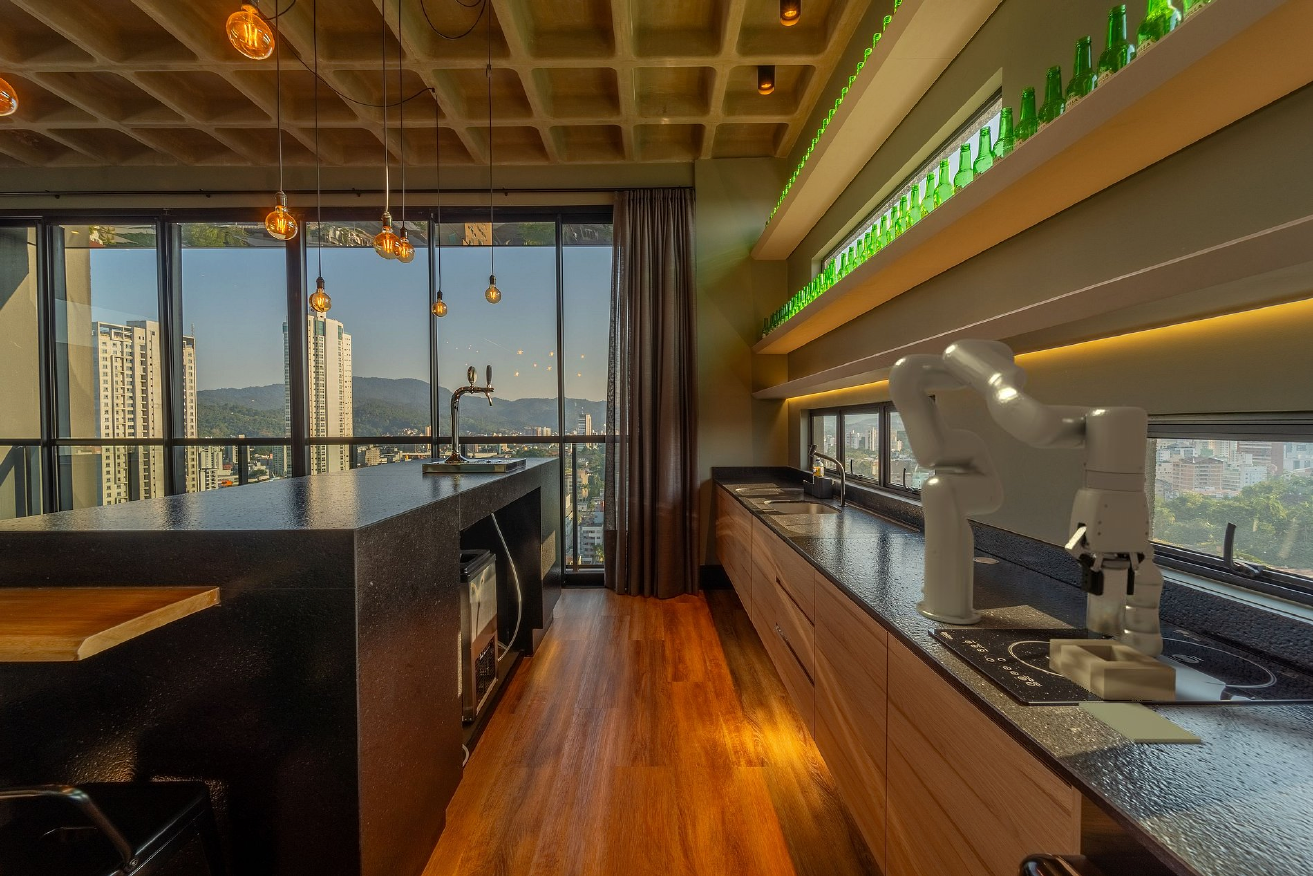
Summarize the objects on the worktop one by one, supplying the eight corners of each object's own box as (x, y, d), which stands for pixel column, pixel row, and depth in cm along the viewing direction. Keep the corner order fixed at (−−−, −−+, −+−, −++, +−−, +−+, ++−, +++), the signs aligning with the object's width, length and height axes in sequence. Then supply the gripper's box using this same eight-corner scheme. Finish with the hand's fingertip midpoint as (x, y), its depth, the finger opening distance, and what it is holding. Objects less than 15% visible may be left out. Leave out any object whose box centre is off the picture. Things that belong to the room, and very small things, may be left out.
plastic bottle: (1172, 664, 93) (1175, 552, 92) (1128, 660, 94) (1131, 550, 94) (1146, 648, 99) (1149, 544, 98) (1105, 645, 100) (1108, 542, 100)
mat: (1078, 706, 78) (1079, 702, 78) (1138, 706, 78) (1138, 703, 78) (1133, 742, 69) (1133, 738, 69) (1201, 742, 69) (1201, 739, 69)
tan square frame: (1049, 667, 91) (1050, 639, 91) (1112, 668, 91) (1113, 639, 91) (1103, 701, 80) (1104, 668, 80) (1175, 701, 80) (1176, 669, 80)
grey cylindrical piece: (1076, 624, 88) (1079, 554, 88) (1104, 623, 89) (1108, 553, 88) (1105, 637, 83) (1109, 562, 83) (1135, 636, 84) (1139, 562, 83)
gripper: (1137, 479, 89) (1131, 584, 90) (1044, 479, 88) (1039, 586, 89) (1185, 485, 82) (1178, 600, 83) (1085, 485, 80) (1079, 602, 81)
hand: (1106, 591), depth 86 cm, fingers closed on grey cylindrical piece, 4 cm apart
